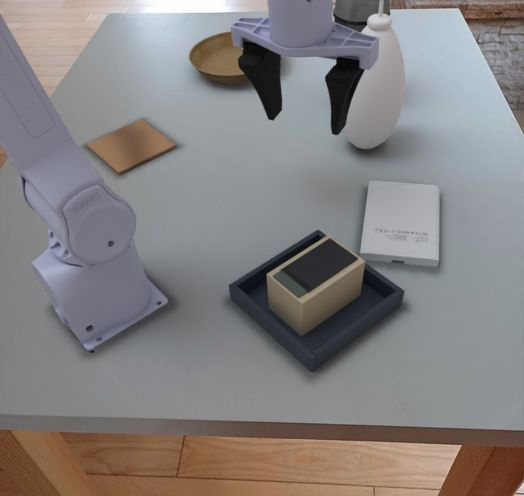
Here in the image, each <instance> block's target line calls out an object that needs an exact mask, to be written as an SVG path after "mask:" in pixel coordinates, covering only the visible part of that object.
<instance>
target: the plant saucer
mask: <svg viewBox="0 0 524 496" xmlns="http://www.w3.org/2000/svg"><path fill="white" fill-rule="evenodd" d="M242 54H243V47H242V48H239V47H234V46H233V41H232V34H231V30H230V31H225V32H219V33H216V34H212V35H210V36H207V37H205V38H203V39H201V40H200V41H199V42H197V43H196V44H195V45H193V46H192V47H191V49H190V51H189V52H188V60H189V63H190V64H191V65H192V66H193V68H195V70H196V71H197V72H199V73H200V74H201V75H202V76H204V77H205V78H207V79H208V80H211V81H212V82H215V83H218V84H224V85H241V84H247V83H251V82H250V80H249V79H248V78H247V76H246V75H245V74H244V73H243V72H242V70H241V69H240V68H239V65H238V58H239V57H240V56H241V55H242Z"/></svg>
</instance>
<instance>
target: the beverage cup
mask: <svg viewBox="0 0 524 496" xmlns="http://www.w3.org/2000/svg"><path fill="white" fill-rule="evenodd" d="M379 4H380V0H335V2H334V8H333V9H332V17H333V22H335V23H338V24H340V25H343V26H345V27H348V28H350V29H353V30H355V31H358V32H360V33H361V32H362V30H363V29H364V28H365V27H366V26H367V20H368V18H369V17H370V16H371V15H374V14H378V11H379ZM390 6H391V5H390V0H384V5H383V14H387V15H389V16H390V17H391V9H390V8H391V7H390Z"/></svg>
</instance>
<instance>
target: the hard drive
mask: <svg viewBox="0 0 524 496" xmlns="http://www.w3.org/2000/svg"><path fill="white" fill-rule="evenodd" d="M363 217H364V218H363V225H362V233H361V242H360V249H359V255H358V256H359V257H361V258H362V259H363V260H365V261H370V262H382V263H397V264H404V265H412V266H423V267H432V268H438V266H439V263H440V186H439V185H436V184H426V183H411V182H401V181H400V182H399V181H387V180H386V181H385V180H369V182H368V187H367V194H366V201H365V209H364V216H363Z"/></svg>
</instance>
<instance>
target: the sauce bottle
mask: <svg viewBox="0 0 524 496" xmlns="http://www.w3.org/2000/svg"><path fill="white" fill-rule="evenodd" d="M383 5H384V0H380V4H379V11H378V14H374V15H371V16H370V17H369V18H368V20H367V26H366V27H365V28H364V29H363V30H362V32H361V33H363V34H366V35H370V36H374V37H379V51H378V59H377V61H376V62H375V64H374V65H373V66H372V67H371V69H370V70H367V69H365V71H364V73H363V75H362V77H361V79H360V81H359V83H358V85H357V88H356V90H355V93H354V95H353V98H352V101H351V104H350V108H349V112H348V116H347V121H346V125H345V127H344V128H343V129H342V132H343V134H344V137H346V139H347V141H348V142H349V143H351V144H352V145H353V146H354V147H356V148H358V149H361V150H371V149H374V148H376V147H378V146H379V145H382V144H383V143H385V142H386V141H387V140H388V138H389V137H390V136H391V135H392V133H393V131H394V130H395V129H396V126H397V124H398V122H399V120H400V118H401V114H402V111H403V106H404V100H405V91H406V71H405V62H404V58H403V53H402V49H401V45H400V41H399V39H398V36H397V34H396V32H395V30H394V29H393V27H392V25H393V24H392V23H393V19H392V17H391V15H390V16H389V15H387V14H383Z"/></svg>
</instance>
